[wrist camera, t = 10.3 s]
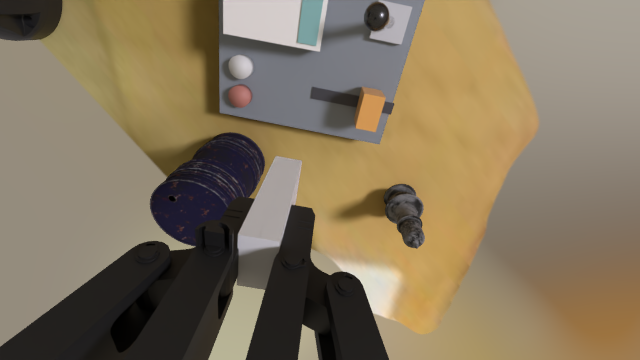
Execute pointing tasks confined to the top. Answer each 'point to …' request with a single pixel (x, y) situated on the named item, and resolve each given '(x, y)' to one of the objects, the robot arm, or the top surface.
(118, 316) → the robot arm
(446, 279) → the top surface
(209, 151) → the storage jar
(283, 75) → the panel
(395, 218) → the chess piece
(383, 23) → the toggle
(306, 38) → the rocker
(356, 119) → the slider
